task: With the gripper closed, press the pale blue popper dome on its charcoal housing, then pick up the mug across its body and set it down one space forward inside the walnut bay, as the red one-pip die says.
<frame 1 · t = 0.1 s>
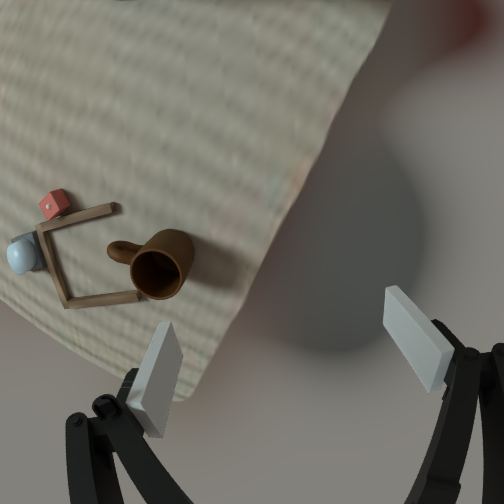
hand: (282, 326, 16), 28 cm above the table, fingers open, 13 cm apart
mug: (159, 245, 44), on the table
bay: (89, 258, 44), on the table
dome: (21, 256, 40), point 4 cm above the table, slide at 0.0 cm
die: (60, 202, 41), on the table
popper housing: (31, 250, 44), on the table
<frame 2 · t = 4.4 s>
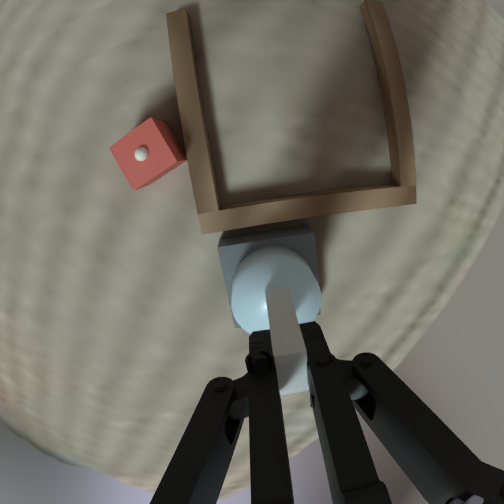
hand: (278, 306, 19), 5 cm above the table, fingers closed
bay: (296, 90, 19), on the table
dome: (274, 293, 20), point 3 cm above the table, slide at 0.1 cm, touching gripper, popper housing
die: (157, 152, 20), on the table
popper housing: (270, 272, 23), on the table
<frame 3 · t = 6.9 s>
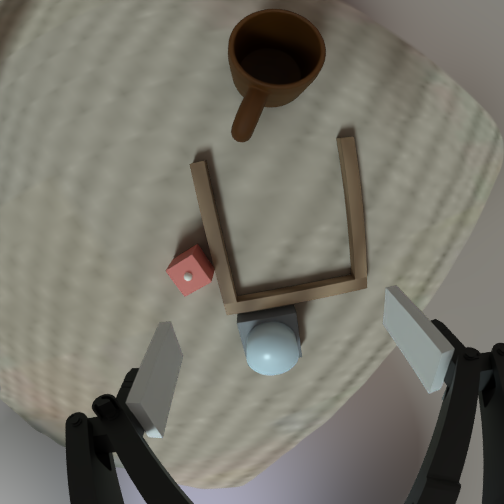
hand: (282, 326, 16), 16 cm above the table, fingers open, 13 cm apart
mug: (261, 93, 27), on the table
bay: (285, 220, 31), on the table
dome: (272, 348, 33), point 3 cm above the table, slide at 0.1 cm, touching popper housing
die: (193, 263, 33), on the table
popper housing: (270, 332, 36), on the table
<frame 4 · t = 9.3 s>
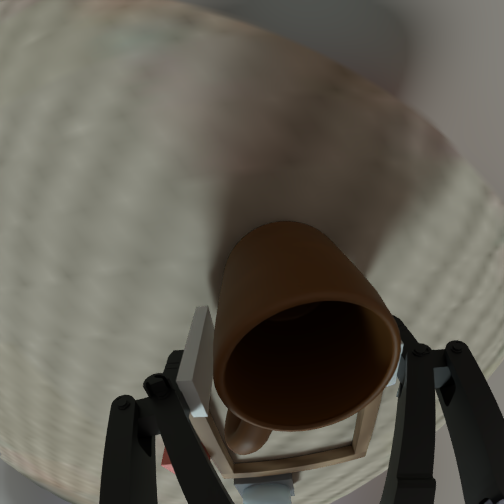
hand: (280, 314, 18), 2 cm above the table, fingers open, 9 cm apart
mug: (268, 301, 19), on the table, touching gripper
bay: (289, 422, 24), on the table
dome: (267, 500, 25), point 3 cm above the table, slide at 0.1 cm, touching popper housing
die: (188, 445, 25), on the table
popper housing: (265, 479, 29), on the table
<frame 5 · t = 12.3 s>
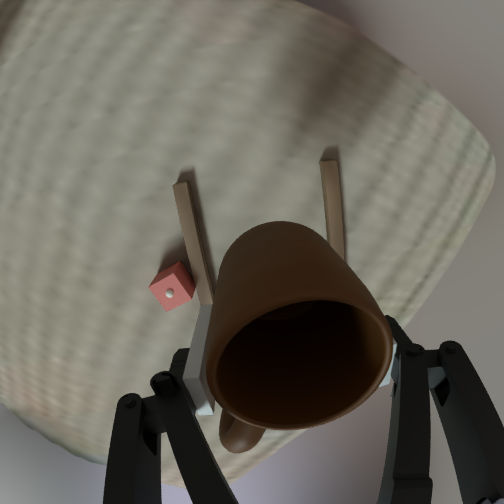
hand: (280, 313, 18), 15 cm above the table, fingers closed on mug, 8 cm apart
mug: (263, 300, 19), point 13 cm above the table, touching gripper
bay: (265, 241, 32), on the table
die: (176, 279, 33), on the table
when the fingers open (3 cm above the table, at t = 14.9 s): mug drops 1 cm, on the table.
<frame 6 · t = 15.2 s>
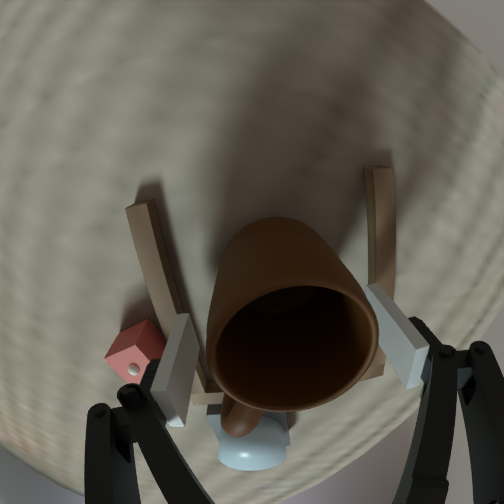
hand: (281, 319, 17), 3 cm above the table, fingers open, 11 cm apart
mug: (262, 293, 21), on the table
bay: (276, 292, 20), on the table
dome: (252, 445, 22), point 3 cm above the table, slide at 0.1 cm, touching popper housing
die: (146, 341, 22), on the table
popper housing: (251, 417, 25), on the table
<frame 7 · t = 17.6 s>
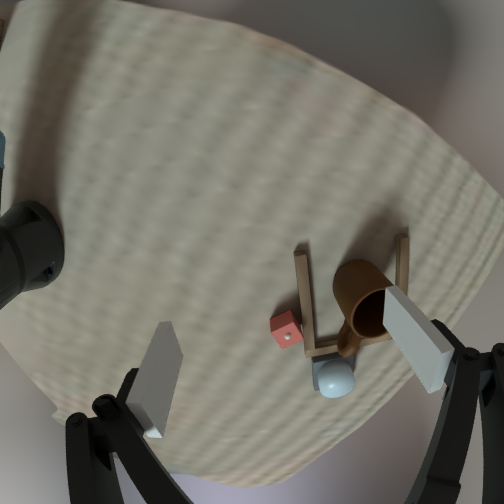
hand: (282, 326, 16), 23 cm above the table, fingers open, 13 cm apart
mug: (348, 293, 41), on the table
bay: (354, 293, 41), on the table
dome: (336, 379, 43), point 3 cm above the table, slide at 0.1 cm, touching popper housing
die: (285, 322, 43), on the table
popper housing: (331, 366, 46), on the table
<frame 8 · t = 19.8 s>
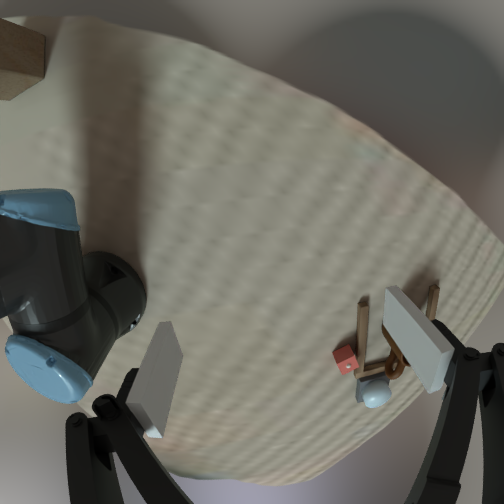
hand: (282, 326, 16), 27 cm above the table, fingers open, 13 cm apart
mug: (391, 329, 50), on the table
bay: (395, 329, 49), on the table
dome: (376, 393, 51), point 3 cm above the table, slide at 0.1 cm, touching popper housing
die: (343, 353, 51), on the table
wooden block: (27, 68, 31), on the table
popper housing: (371, 382, 54), on the table
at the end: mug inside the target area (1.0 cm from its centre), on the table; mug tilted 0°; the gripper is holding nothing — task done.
